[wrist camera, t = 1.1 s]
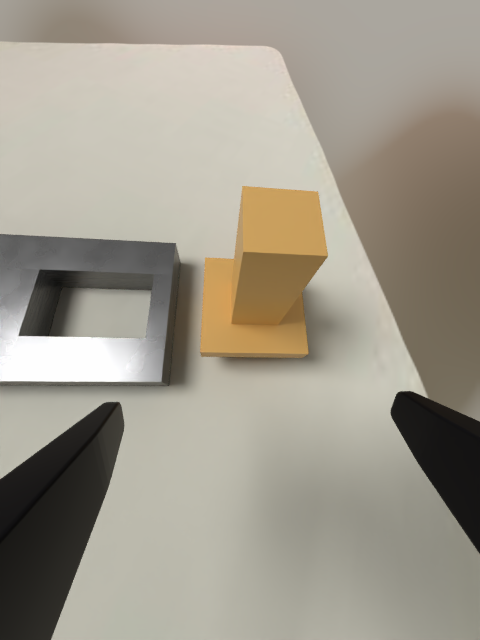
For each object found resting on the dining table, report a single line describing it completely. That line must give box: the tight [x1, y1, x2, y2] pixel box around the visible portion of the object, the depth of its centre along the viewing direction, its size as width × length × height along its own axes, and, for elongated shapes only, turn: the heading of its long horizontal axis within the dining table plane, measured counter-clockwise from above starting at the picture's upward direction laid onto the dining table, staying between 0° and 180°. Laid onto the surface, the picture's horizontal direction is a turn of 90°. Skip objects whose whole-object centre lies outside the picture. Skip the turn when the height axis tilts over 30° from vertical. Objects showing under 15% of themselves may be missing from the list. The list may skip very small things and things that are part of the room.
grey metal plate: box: [0, 234, 180, 386], centre depth 20 cm, size 12×20×3 cm, turn 90°
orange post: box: [200, 186, 328, 358], centre depth 17 cm, size 8×8×13 cm
